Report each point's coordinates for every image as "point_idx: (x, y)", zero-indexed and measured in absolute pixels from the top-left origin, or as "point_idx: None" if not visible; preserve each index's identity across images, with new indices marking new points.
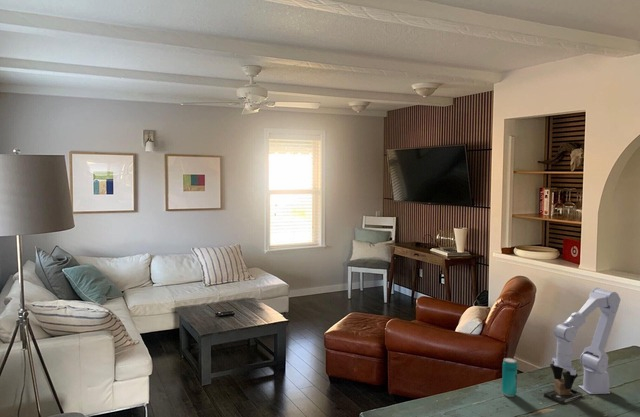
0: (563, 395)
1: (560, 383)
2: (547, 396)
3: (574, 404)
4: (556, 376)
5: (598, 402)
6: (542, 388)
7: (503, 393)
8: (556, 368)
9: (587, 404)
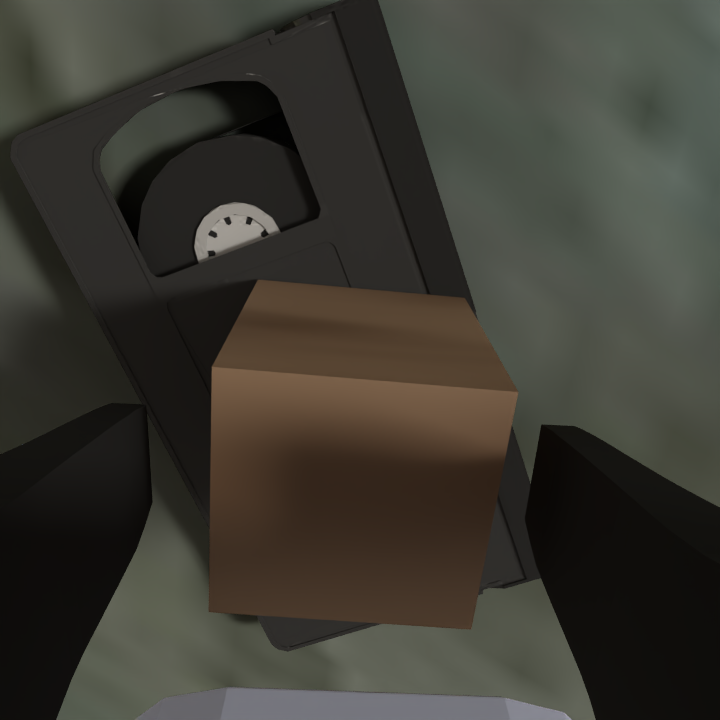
0: None
1: (213, 374)
2: (293, 24)
3: (22, 362)
4: (589, 506)
5: (95, 693)
6: (693, 198)
7: None
8: (714, 701)
9: None
